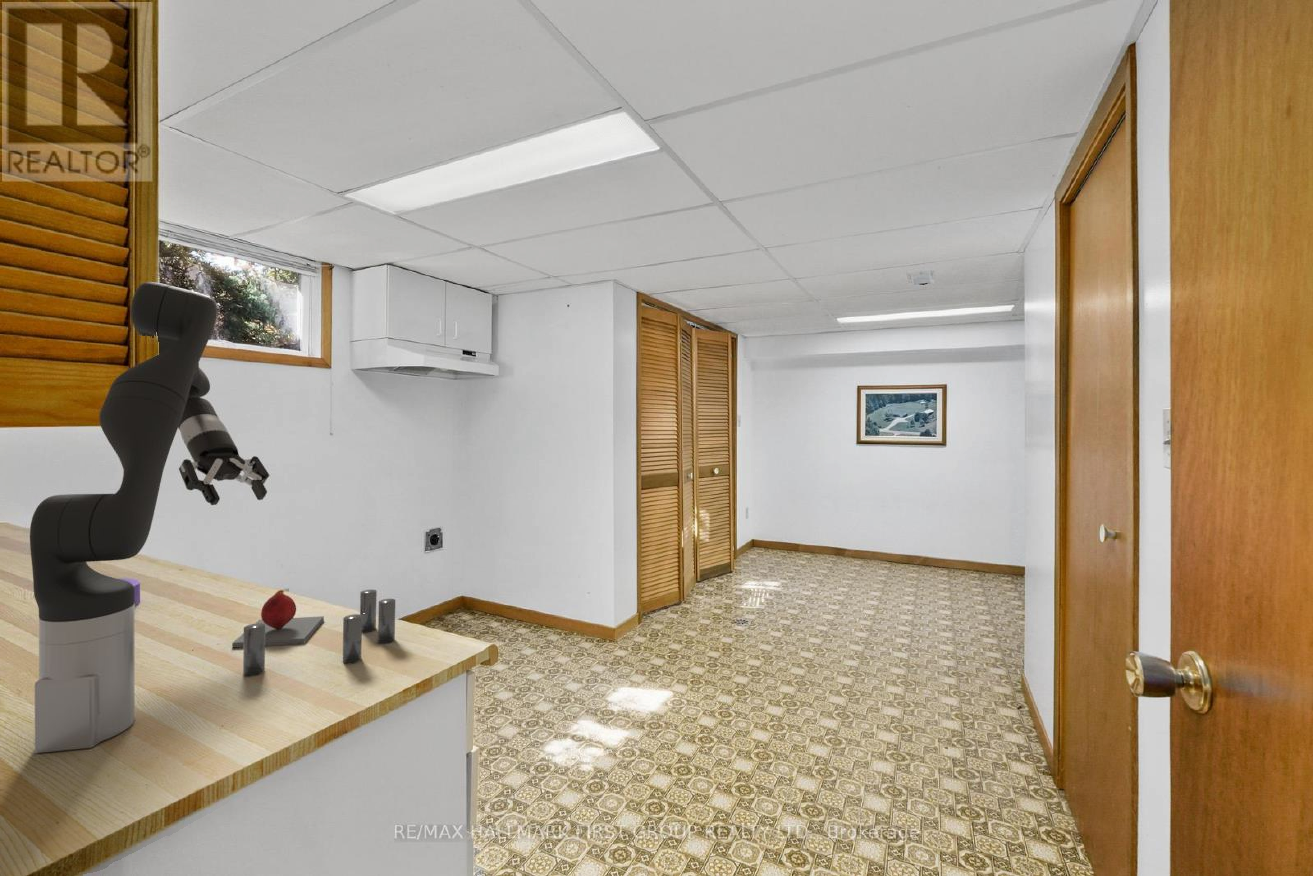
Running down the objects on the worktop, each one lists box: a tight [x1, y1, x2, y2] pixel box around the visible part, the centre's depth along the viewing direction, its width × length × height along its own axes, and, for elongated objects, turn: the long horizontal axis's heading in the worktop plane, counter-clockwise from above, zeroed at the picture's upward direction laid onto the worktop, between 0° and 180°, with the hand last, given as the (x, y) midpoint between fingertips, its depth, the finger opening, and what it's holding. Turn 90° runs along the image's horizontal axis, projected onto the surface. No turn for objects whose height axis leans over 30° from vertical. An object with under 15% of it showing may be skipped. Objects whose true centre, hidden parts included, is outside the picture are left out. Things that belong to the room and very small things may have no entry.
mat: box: [231, 615, 325, 648], centre depth 111 cm, size 12×12×1 cm
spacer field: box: [242, 589, 396, 677], centre depth 106 cm, size 20×22×8 cm
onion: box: [260, 589, 297, 629], centre depth 111 cm, size 6×6×8 cm
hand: (240, 499), depth 112 cm, fingers open, 8 cm apart
